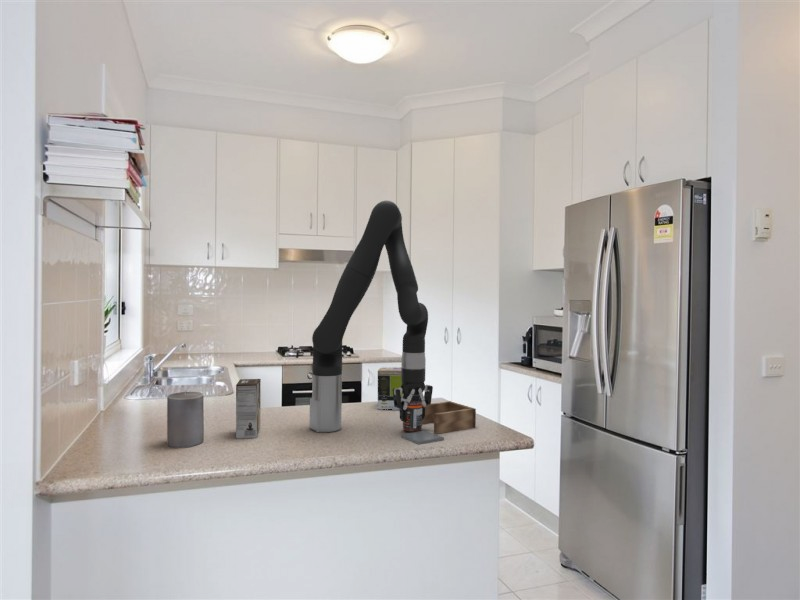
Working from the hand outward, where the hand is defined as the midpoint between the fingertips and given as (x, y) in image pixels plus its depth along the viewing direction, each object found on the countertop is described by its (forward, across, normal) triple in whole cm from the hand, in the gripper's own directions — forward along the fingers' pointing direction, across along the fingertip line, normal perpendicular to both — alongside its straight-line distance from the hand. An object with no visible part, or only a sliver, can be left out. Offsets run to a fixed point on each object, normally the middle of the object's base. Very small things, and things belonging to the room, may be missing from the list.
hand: (412, 419), depth 170 cm
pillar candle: (+4, -63, +22) cm, 67 cm away
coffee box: (+4, -45, +22) cm, 50 cm away
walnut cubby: (+3, +11, 0) cm, 12 cm away
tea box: (+4, +14, +30) cm, 33 cm away
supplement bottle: (+3, 0, 0) cm, 3 cm away
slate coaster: (+3, -2, -9) cm, 10 cm away
